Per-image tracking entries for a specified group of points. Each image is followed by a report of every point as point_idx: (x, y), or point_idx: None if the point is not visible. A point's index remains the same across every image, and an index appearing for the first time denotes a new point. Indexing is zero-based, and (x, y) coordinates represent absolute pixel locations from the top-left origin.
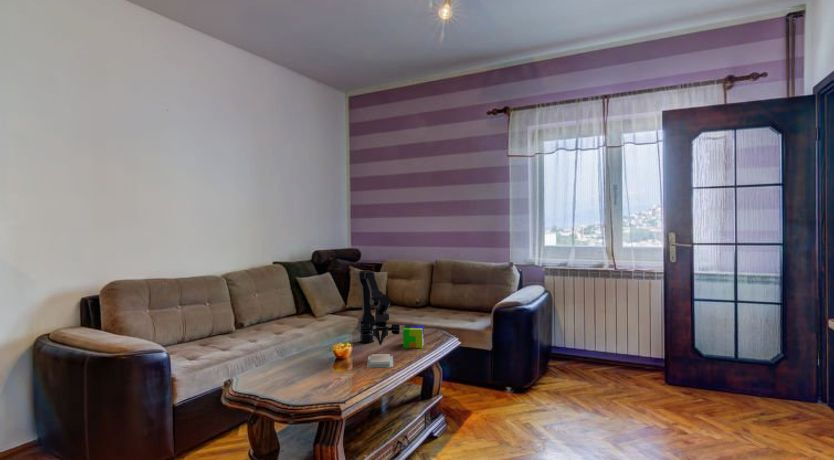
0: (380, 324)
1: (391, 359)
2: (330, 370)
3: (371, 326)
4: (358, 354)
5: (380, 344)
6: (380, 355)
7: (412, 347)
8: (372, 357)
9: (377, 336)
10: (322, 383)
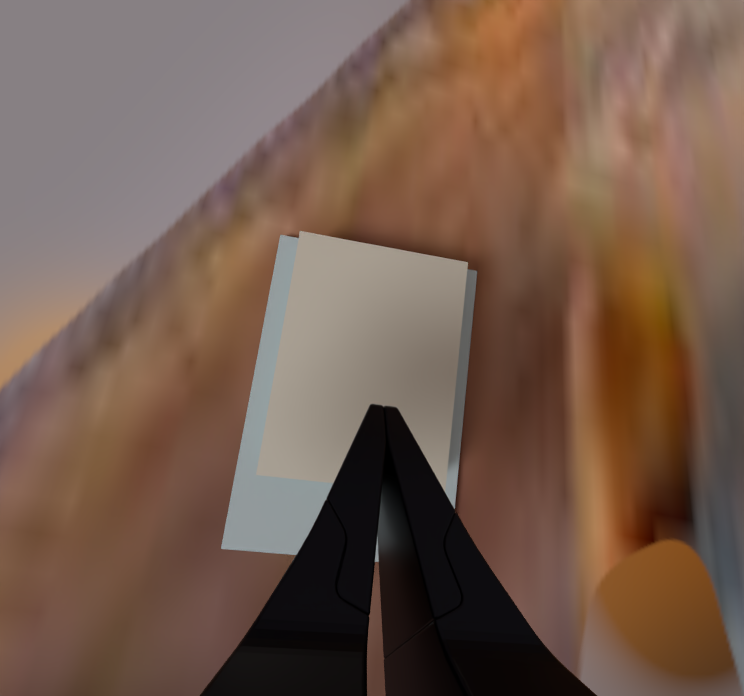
0: None
1: (257, 429)
2: (696, 287)
3: None
4: None
5: (379, 409)
6: None
7: None
8: (439, 388)
9: (466, 537)
10: (708, 85)
